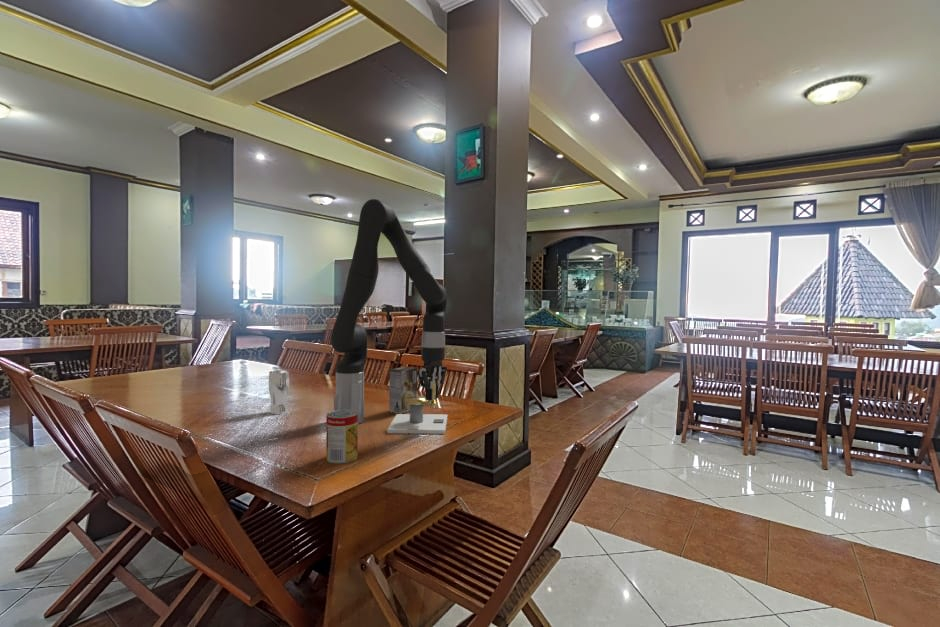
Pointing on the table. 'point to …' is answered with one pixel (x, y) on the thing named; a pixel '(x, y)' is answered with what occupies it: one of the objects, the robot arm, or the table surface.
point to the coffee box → (401, 388)
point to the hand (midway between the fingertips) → (432, 398)
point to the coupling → (423, 398)
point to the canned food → (342, 436)
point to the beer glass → (278, 391)
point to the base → (423, 426)
